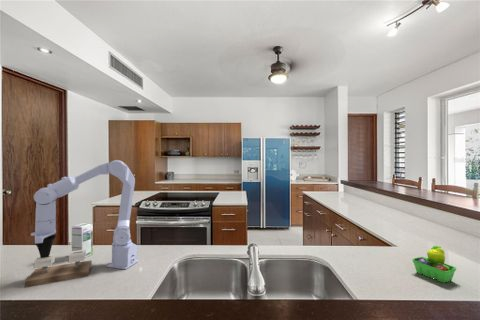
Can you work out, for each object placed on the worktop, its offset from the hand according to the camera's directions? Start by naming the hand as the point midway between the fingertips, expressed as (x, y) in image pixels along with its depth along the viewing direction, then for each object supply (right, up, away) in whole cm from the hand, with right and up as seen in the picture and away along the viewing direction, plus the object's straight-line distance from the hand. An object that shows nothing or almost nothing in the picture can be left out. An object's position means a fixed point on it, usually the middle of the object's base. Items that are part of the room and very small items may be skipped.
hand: (45, 256), depth 82 cm
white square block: (+9, -3, +4) cm, 10 cm away
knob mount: (+4, -8, +2) cm, 9 cm away
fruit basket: (+148, -9, +3) cm, 148 cm away
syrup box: (0, -8, +19) cm, 21 cm away
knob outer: (0, -3, 0) cm, 3 cm away
